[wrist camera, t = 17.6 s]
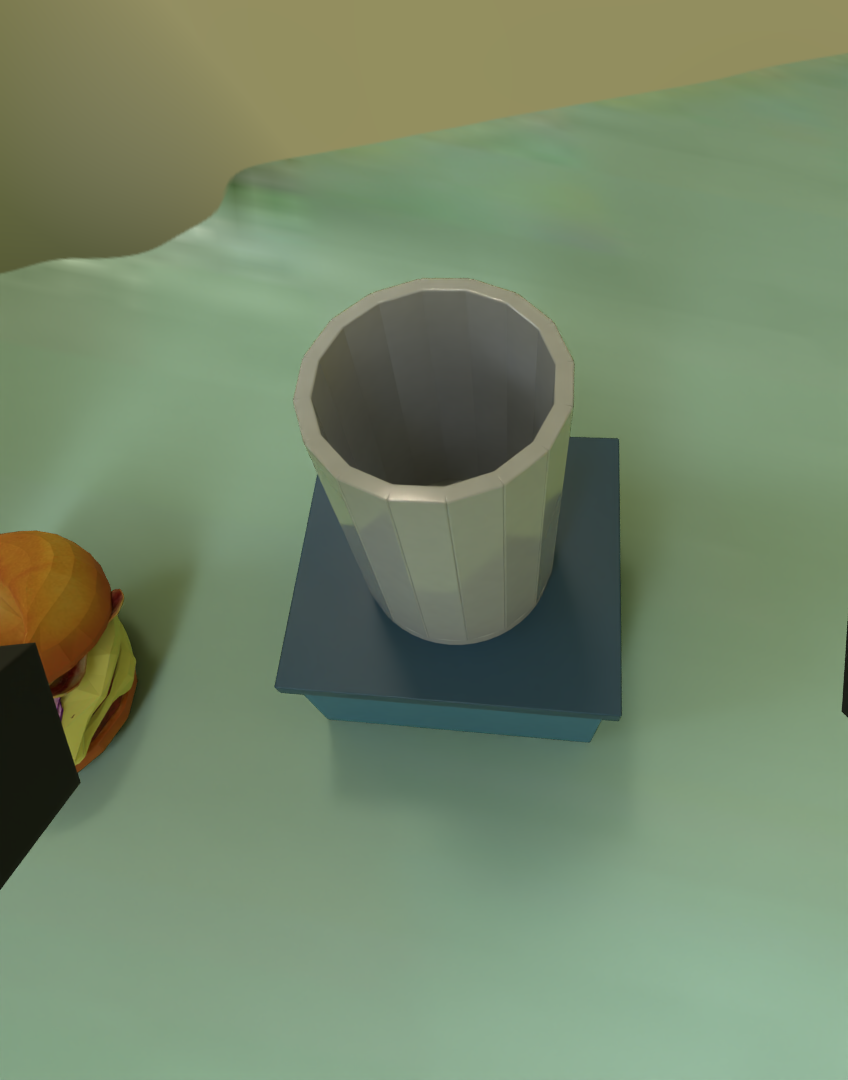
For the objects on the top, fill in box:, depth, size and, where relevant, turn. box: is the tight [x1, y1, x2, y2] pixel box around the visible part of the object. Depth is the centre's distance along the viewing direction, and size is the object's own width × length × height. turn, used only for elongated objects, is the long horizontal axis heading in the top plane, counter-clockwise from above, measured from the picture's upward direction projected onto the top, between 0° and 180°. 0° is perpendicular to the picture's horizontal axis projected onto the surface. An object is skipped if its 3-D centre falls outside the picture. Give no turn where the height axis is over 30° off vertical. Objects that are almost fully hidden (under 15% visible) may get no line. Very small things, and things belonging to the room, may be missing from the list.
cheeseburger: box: [0, 531, 138, 773], centre depth 33 cm, size 10×11×10 cm
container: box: [275, 437, 622, 742], centre depth 32 cm, size 13×12×7 cm
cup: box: [293, 278, 575, 645], centre depth 24 cm, size 7×7×11 cm
